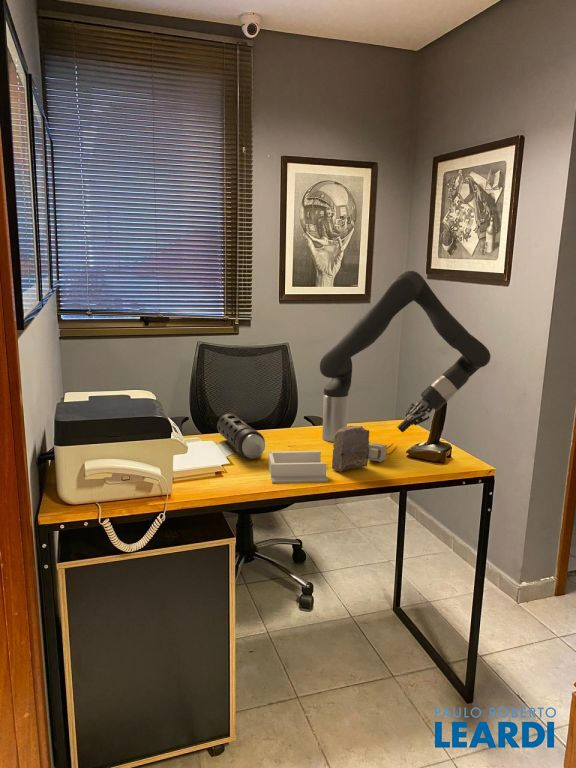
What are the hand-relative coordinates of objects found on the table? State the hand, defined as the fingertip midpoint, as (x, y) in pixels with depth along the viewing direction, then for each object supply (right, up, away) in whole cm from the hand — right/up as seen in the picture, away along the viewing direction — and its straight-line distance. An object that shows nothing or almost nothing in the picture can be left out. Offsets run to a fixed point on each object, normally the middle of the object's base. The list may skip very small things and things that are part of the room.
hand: (399, 430), depth 185 cm
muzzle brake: (-53, -9, +19) cm, 57 cm away
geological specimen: (-16, -13, +1) cm, 21 cm away
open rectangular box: (-33, -13, -3) cm, 36 cm away
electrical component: (-3, -10, +17) cm, 20 cm away
